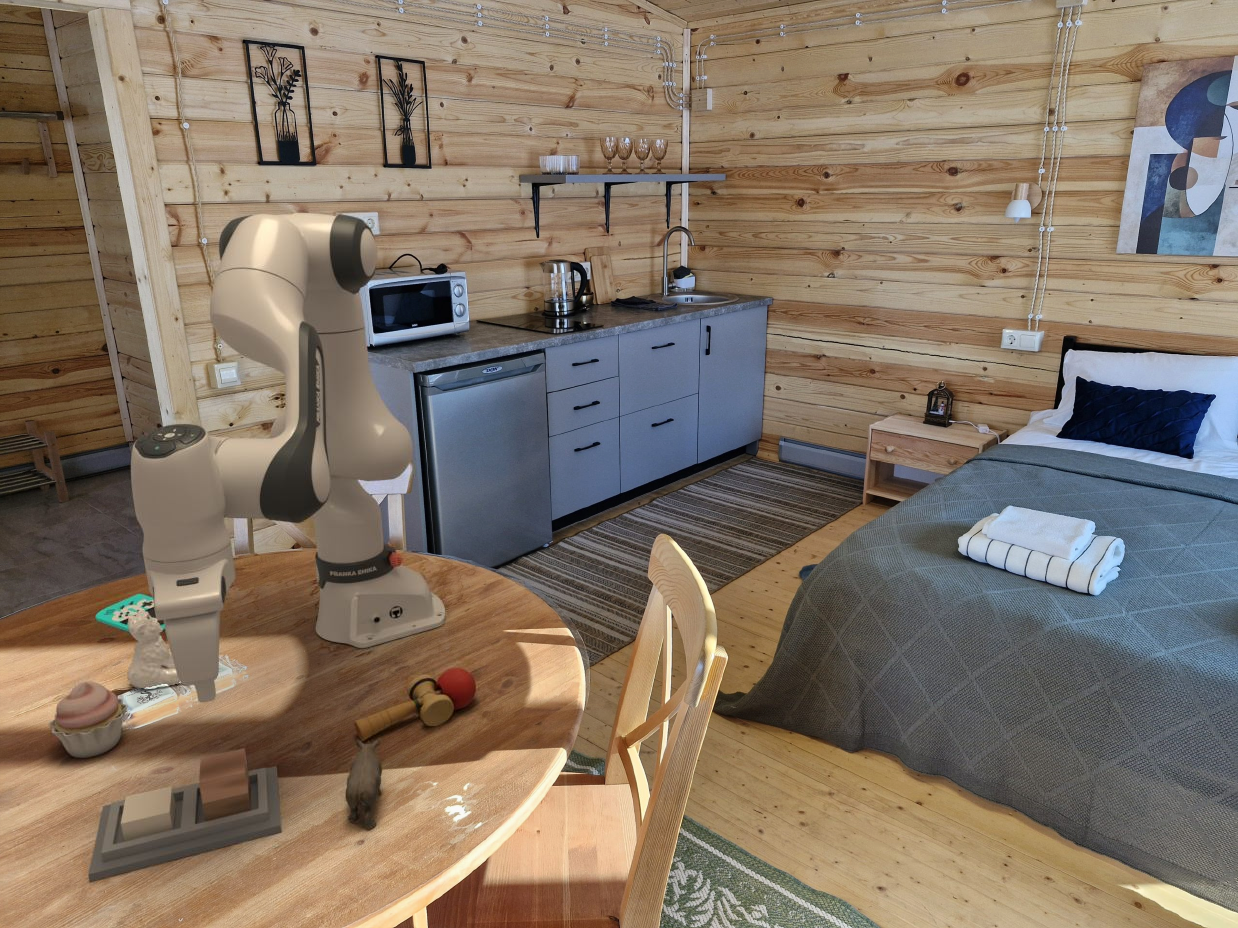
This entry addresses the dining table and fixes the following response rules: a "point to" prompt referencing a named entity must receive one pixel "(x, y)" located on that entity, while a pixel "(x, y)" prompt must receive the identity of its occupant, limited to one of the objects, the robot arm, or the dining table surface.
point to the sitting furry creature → (150, 654)
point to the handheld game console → (127, 611)
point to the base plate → (178, 826)
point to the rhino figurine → (364, 783)
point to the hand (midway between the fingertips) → (208, 677)
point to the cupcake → (89, 720)
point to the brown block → (224, 784)
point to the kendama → (424, 701)
